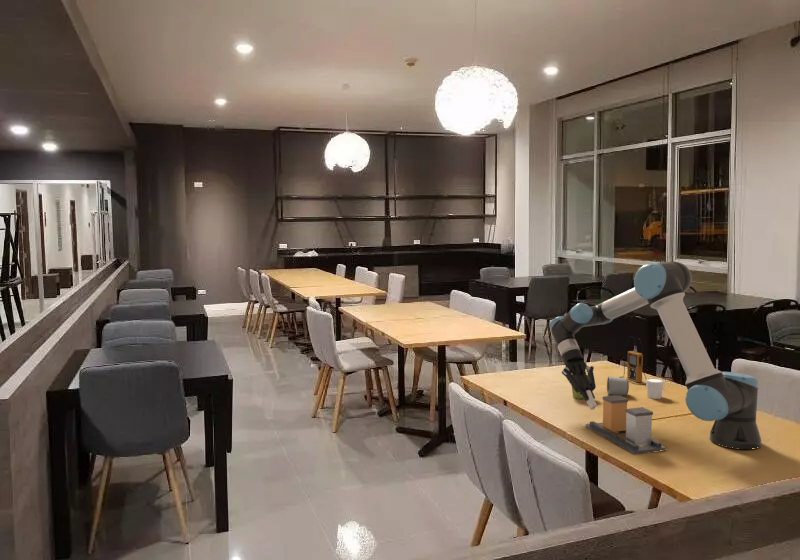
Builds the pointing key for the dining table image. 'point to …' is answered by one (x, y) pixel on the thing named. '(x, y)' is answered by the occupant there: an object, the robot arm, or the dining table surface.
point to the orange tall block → (614, 413)
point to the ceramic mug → (617, 386)
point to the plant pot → (577, 395)
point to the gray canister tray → (631, 432)
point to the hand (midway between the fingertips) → (593, 407)
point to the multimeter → (634, 365)
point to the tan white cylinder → (654, 388)
